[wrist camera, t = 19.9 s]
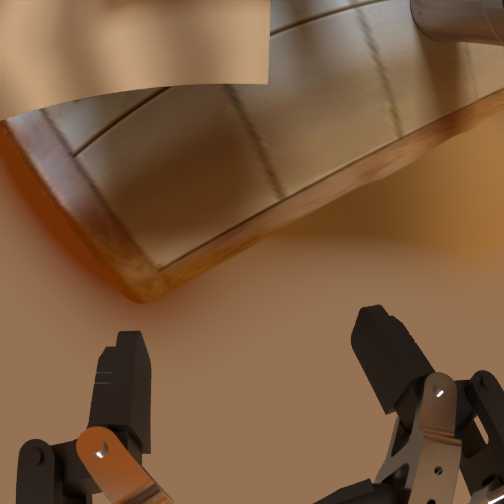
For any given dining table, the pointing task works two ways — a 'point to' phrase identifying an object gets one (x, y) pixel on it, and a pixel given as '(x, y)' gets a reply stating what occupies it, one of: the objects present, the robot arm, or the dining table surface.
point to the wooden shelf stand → (126, 47)
